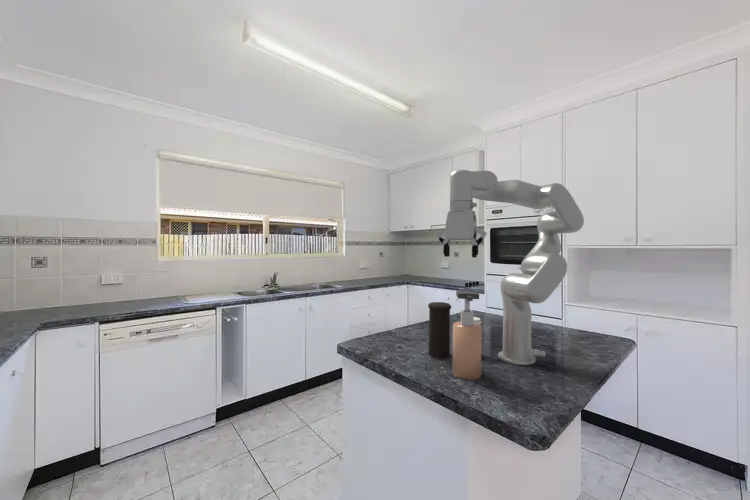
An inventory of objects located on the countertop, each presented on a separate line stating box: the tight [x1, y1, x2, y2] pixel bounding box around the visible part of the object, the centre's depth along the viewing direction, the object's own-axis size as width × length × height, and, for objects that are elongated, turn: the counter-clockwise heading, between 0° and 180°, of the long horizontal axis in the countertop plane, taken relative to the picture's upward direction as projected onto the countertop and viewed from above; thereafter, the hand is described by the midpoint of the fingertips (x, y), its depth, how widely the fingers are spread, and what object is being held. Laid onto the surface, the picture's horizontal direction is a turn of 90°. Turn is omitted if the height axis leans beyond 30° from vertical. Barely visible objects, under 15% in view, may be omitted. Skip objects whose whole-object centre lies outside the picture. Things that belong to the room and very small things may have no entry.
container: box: [427, 301, 452, 359], centre depth 121 cm, size 9×9×20 cm
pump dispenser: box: [451, 309, 483, 381], centre depth 103 cm, size 9×9×20 cm
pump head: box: [455, 290, 480, 312], centre depth 101 cm, size 6×10×6 cm, turn 171°
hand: (460, 256), depth 109 cm, fingers open, 9 cm apart
